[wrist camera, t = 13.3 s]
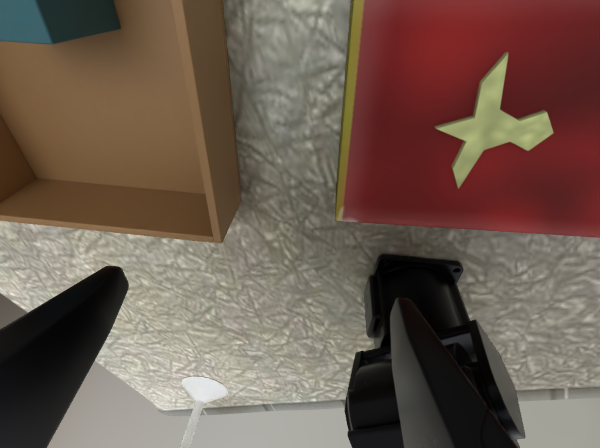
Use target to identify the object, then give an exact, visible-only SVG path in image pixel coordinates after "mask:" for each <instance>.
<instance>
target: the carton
mask: <svg viewBox="0 0 600 448" xmlns="http://www.w3.org/2000/svg"><path fill="white" fill-rule="evenodd" d="M113 1H114V4H115V8H116V12H117V15H118V19H119V22H120V26H121V29H119V30H115V31H111V32H106V33H102V34H97V35H93V36H89V37H84V38H80V39H75V40H71V41H67V42H62V43H58V44H53V45H50V44H34V43H19V42H4V41H0V221H8V222H18V223H28V224H37V225H47V226H57V227H66V228H76V229H86V230H95V231H105V232H115V233H125V234H134V235H144V236H154V237H163V238H173V239H183V240H192V241H202V242H212V243H222V242H223V239H224V237H225V235H226V233H227V231H228V229H229V226H230V224H231V222H232V220H233V218H234V215H235V213H236V211H237V209H238V207H239V205H240V202H241V189H240V179H239V169H238V158H237V148H236V137H235V127H234V117H233V106H232V96H231V85H230V75H229V65H228V54H227V44H226V34H225V23H224V13H223V2H222V0H113Z"/></svg>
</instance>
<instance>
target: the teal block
mask: <svg viewBox="0 0 600 448" xmlns="http://www.w3.org/2000/svg"><path fill="white" fill-rule="evenodd" d="M119 29H121V26H120V22H119V19H118V15H117V12H116V8H115V4H114V1H113V0H0V41H4V42H19V43H34V44H50V45H53V44H58V43H62V42H67V41H71V40H75V39H80V38H84V37H89V36H93V35H97V34H102V33H106V32H111V31H115V30H119Z"/></svg>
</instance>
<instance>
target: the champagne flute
mask: <svg viewBox="0 0 600 448" xmlns="http://www.w3.org/2000/svg"><path fill="white" fill-rule="evenodd" d="M182 386H183V387H184V389H185V390H186V391H187V392H188V393H189V394H190V395H191V397H192V398H193V399H194V400H195V401H196V402H195V405H194V408H193V411H192V414H191V416H190V419H189V422H188V425H187V428H186V431H185V434H184V437H183V440H182V442H181V445H180V448H190V445H191V442H192V439H193V436H194V433H195V429H196V427H197V424H198V420H199V417H200V414H201V411H202V408H203V405H204V403H207V402H210V401H213V400H216V399H219V398H222V397H225V396H226V395H227V394H228V390H227V388H226V387H225V386H224V385H222V384H221V383H219V382H217V381H215V380H212V379H209V378H205V377H196V376H194V377H187V378H185V379H183V380H182Z"/></svg>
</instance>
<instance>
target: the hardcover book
mask: <svg viewBox="0 0 600 448" xmlns="http://www.w3.org/2000/svg"><path fill="white" fill-rule="evenodd" d="M335 221H346V222H362V223H378V224H394V225H410V226H426V227H441V228H457V229H473V230H489V231H505V232H521V233H536V234H552V235H568V236H584V237H600V0H351V10H350V22H349V35H348V47H347V59H346V72H345V84H344V97H343V109H342V121H341V134H340V146H339V158H338V171H337V183H336V203H335Z"/></svg>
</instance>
